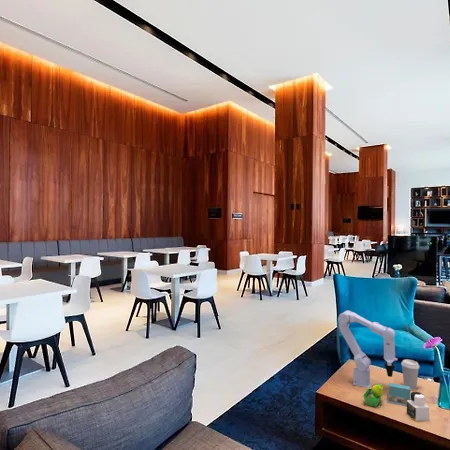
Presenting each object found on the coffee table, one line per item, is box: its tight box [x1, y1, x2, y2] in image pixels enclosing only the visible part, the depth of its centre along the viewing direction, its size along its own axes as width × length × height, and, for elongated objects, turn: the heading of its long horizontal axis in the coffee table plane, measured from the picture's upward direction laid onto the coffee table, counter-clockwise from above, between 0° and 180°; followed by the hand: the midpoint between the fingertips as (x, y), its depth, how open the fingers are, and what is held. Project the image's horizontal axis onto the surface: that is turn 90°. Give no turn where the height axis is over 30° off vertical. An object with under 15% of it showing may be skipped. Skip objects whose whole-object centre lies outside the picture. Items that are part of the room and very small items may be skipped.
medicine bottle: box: [406, 391, 430, 422], centre depth 167 cm, size 7×7×12 cm
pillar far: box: [401, 397, 411, 404], centre depth 180 cm, size 4×4×3 cm
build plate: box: [386, 393, 411, 408], centre depth 182 cm, size 12×10×1 cm
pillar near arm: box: [388, 394, 397, 402], centre depth 183 cm, size 4×4×3 cm
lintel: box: [388, 382, 411, 399], centre depth 182 cm, size 10×4×5 cm, turn 63°
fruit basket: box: [363, 383, 384, 408], centre depth 180 cm, size 11×9×11 cm
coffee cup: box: [401, 359, 420, 390], centre depth 198 cm, size 10×10×15 cm
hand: (389, 373), depth 193 cm, fingers open, 7 cm apart
